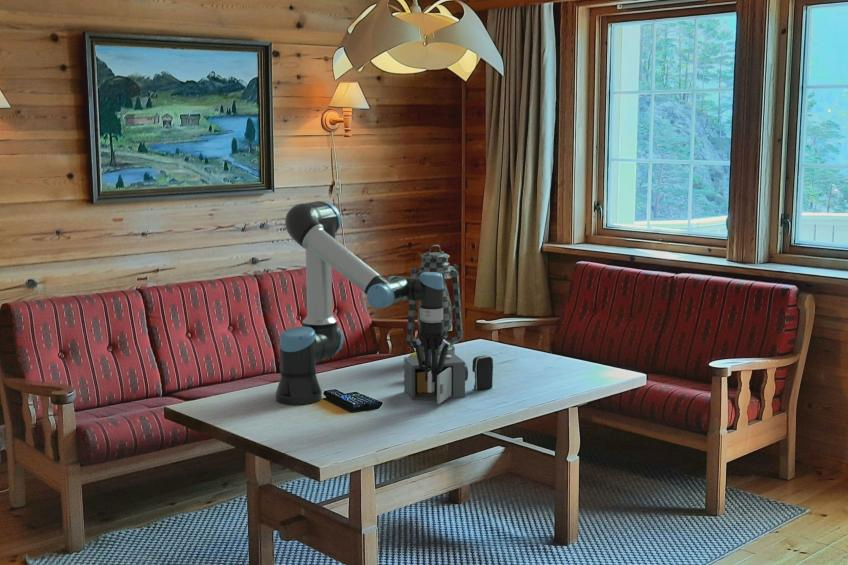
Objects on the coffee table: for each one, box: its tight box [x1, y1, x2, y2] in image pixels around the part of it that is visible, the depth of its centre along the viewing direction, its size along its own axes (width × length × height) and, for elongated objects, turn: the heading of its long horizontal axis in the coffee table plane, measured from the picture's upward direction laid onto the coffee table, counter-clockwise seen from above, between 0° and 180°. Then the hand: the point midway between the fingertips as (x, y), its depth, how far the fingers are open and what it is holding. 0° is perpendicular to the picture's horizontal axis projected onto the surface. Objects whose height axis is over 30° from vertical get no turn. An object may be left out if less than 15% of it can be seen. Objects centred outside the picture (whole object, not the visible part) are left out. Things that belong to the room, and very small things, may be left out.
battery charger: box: [471, 354, 494, 391], centre depth 351 cm, size 7×4×11 cm, turn 125°
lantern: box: [406, 244, 464, 356], centre depth 387 cm, size 24×18×45 cm
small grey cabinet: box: [403, 353, 469, 402], centre depth 343 cm, size 20×12×13 cm, turn 105°
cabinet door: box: [436, 367, 452, 405], centre depth 333 cm, size 12×1×9 cm, turn 159°
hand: (431, 391), depth 331 cm, fingers closed
